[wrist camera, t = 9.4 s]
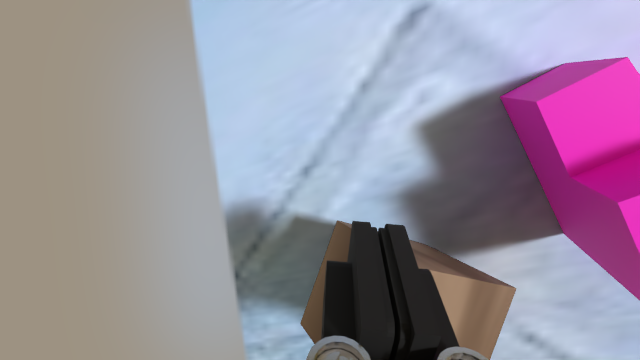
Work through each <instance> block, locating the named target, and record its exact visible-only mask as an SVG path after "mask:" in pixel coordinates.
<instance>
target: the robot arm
mask: <svg viewBox="0 0 640 360" xmlns="http://www.w3.org/2000/svg"><path fill="white" fill-rule="evenodd" d="M306 360H488V359H487V358H486V357H485V356H483V355H481V354H480V353H478V352H476V351H474V350H471V349H468V348H465V347H460V346H459V343H458V341H457V338H456V336H455V333H454V330H453V328H452V325H451V323H450V320H449V317H448V315H447V312H446V309H445V307H444V304H443V302H442V299H441V296H440V294H439V291H438V289H437V286H436V283H435V281H434V278H433V275H432V273H431V271H430V270H428V269H421V268H418V265H417V262H416V259H415V256H414V253H413V250H412V247H411V244H410V241H409V238H408V235H407V232H406V229H405V227H404V226H403V225H393V224H386V225H385V228H379V230H378V232H377V228H376V227H371V224H370V222H358V221H353V222H352V228H351V236H350V244H349V251H348V259H347V262H340V261H329V260H327V262H326V273H325V284H324V297H323V313H322V331H321V340H320V341H318V342H317V343H316V344H315V345H314V346H313V347H312V348H311V350H310V352H309V354H308V356H307V359H306Z"/></svg>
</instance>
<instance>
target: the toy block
mask: <svg viewBox="0 0 640 360" xmlns="http://www.w3.org/2000/svg"><path fill="white" fill-rule="evenodd" d="M500 98H501V100H502V102H503V104H504V106H505V109H506V111H507V113H508V115H509V117H510V119H511V121H512V124H513V126H514V128H515V130H516V132H517V134H518V136H519V139H520V141H521V143H522V145H523V147H524V149H525V151H526V154H527V156H528V158H529V160H530V162H531V164H532V166H533V169H534V171H535V173H536V175H537V177H538V179H539V181H540V184H541V186H542V188H543V190H544V192H545V194H546V196H547V199H548V201H549V203H550V205H551V207H552V209H553V211H554V214H555V216H556V218H557V220H558V222H559V224H560V226H561V229H562V231H563V233H564V234H565V235H566V236H567V237H568V238H569V239H570V240H572V241H573V242H574V243H575V244H576V245H577V246H578V247H579V248H581V249H582V250H583V251H584V252H585V253H586V254H587V255H589V256H590V257H591V258H592V259H593V260H594V261H595V262H597V263H598V264H599V265H600V266H601V267H602V268H603V269H605V270H606V271H607V272H608V273H609V274H610V275H611V276H612V277H614V278H615V279H616V280H617V281H618V282H619V283H620V284H622V285H623V286H624V287H625V288H626V289H627V290H628V291H630V292H631V293H632V294H633V295H634V296H635V297H636V298H638V299H639V300H640V74H639V73H638V72H637V70H636V69H635V67H634V66H633V64H632V63H631V61H630V60H629V58H628V57H624V58H614V59H604V60H593V61H583V62H573V63H565V64H563V65H561V66H559V67H557V68H555V69H553V70H551V71H549V72H547V73H545V74H543V75H541V76H539V77H537V78H535V79H533V80H531V81H529V82H528V83H526V84H524V85H522V86H520V87H518V88H516V89H514V90H512V91H510V92H508V93H506V94H504V95H502V96H500Z"/></svg>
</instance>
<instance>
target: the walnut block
mask: <svg viewBox="0 0 640 360" xmlns="http://www.w3.org/2000/svg"><path fill="white" fill-rule="evenodd" d="M351 228H352V224H349V223H345V222H342V221H338V220H337V223H336V225H335V228H334V231H333V234H332V237H331V239H330V242H329V245H328V248H327V251H326V253H325V256H324V259H323V262H322V265H321V267H320V270H319V273H318V276H317V279H316V281H315V284H314V287H313V290H312V292H311V295H310V298H309V301H308V304H307V306H306V309H305V312H304V315H303V318H302V320H301V323H300V324H301V325H302V327H303V328H304V329H305V331H306V332H307V334H308V335H309V337H310V338H311V339H312V341H313V342H314V344H316V343H317V342H318V341H320V340H321V331H322V313H323V297H324V284H325V273H326V262H327V260H329V261H340V262H347V259H348V251H349V244H350V236H351ZM377 232H378V231H377ZM409 241H410V244H411V247H412V250H413V253H414V256H415V259H416V262H417V265H418V268H421V269H428V270H430V271H431V273H432V275H433V278H434V281H435V283H436V286H437V289H438V291H439V294H440V296H441V299H442V302H443V304H444V307H445V309H446V312H447V315H448V317H449V320H450V323H451V325H452V328H453V330H454V333H455V336H456V338H457V341H458V343H459V346H460V347H465V348H468V349H471V350H474V351H476V352H478V353H480V354H481V355H483V356H485V357H486V358H487V359H488V360H490V358H491V355H492V353H493V350H494V347H495V345H496V342H497V339H498V337H499V334H500V331H501V328H502V326H503V323H504V320H505V318H506V315H507V312H508V310H509V307H510V304H511V302H512V299H513V296H514V294H515V291H516V288H515V287H512V286H510V285H508V284H506V283H504V282H502V281H500V280H498V279H496V278H494V277H492V276H490V275H488V274H486V273H483V272H481V271H479V270H477V269H475V268H473V267H471V266H469V265H467V264H465V263H463V262H461V261H459V260H457V259H454V258H452V257H450V256H448V255H446V254H444V253H442V252H440V251H438V250H436V249H434V248H432V247H430V246H428V245H425V244H422V243H419V242H415V241H411V240H409Z"/></svg>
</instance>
